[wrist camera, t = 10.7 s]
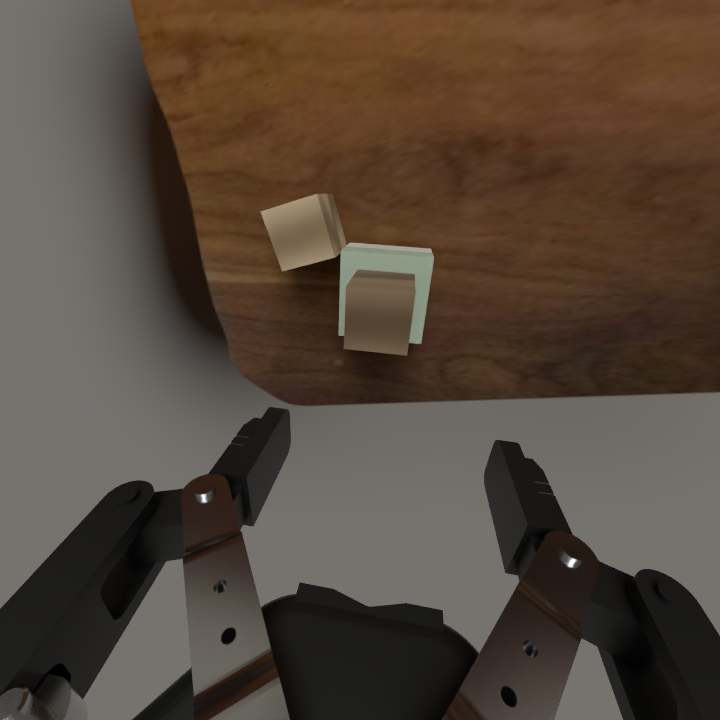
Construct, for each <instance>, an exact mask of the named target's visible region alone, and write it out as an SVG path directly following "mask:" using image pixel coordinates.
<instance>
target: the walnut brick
mask: <svg viewBox="0 0 720 720" xmlns="http://www.w3.org/2000/svg"><path fill="white" fill-rule="evenodd" d="M415 293H416V290H415V274H408V273H396V272H384V271H372V270H360V269H358V270H357V271H356V273H355V274H354V275H353V277H352V278H351V280H350V281H349V283H348V284H347V286H346V299H345V329H344V349H350V350H359V351H368V352H378V353H387V354H396V355H405V356H407V354H408V346H409V339H410V331H411V324H412V316H413V308H414V301H415Z"/></svg>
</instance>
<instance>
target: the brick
mask: <svg viewBox="0 0 720 720" xmlns="http://www.w3.org/2000/svg"><path fill="white" fill-rule="evenodd" d="M261 214H262V217H263V219H264V222H265V225H266V228H267V230H268V233H269V236H270V239H271V242H272V244H273V247H274V250H275V253H276V255H277V258H278V261H279V264H280V266H281V269H282V271H286V270H290V269H294V268H297V267H301V266H305V265H309V264H312V263H316V262H320V261H324V260H328V259H331V258H335V257H336V256H338V255H339V254H340V253H341V250H342V249H343V248H344V247H345V246H347V244H346V241H345V237H344V233H343V230H342V226H341V222H340V219H339V215H338V211H337V208H336V204H335V200H334V197H333V194H315V195H312V196H308V197H305V198H302V199H299V200H296V201H293V202H290V203H286V204H283V205H280V206H277V207H274V208H271V209H268V210H265V211H261Z"/></svg>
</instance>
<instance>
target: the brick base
mask: <svg viewBox="0 0 720 720" xmlns="http://www.w3.org/2000/svg"><path fill="white" fill-rule="evenodd" d="M433 262H434V256H433V253H432V250H431V249H427V248H414V247H401V246H388V245H374V244H361V243H349V244H348V245H347V246H345V247H344V248H343V249H342V250H341V260H340V300H339V336H344V329H345V299H346V286H347V284H348V283H349V281H350V280H351V278H352V277H353V275H354V274H355V273H356V271H357V270H358V269H360V270H372V271H384V272H396V273H408V274H415V290H416V293H415V301H414V308H413V316H412V324H411V331H410V339H409V343H416V344H421V341H422V334H423V327H424V321H425V314H426V308H427V301H428V295H429V288H430V281H431V275H432V268H433Z"/></svg>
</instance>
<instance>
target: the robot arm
mask: <svg viewBox="0 0 720 720" xmlns="http://www.w3.org/2000/svg"><path fill="white" fill-rule="evenodd" d="M290 443H291V434H290V415H289V410H287V409H281V408H274V407H269V408H268V409H267V411H266V412H265V414H264V415H263V417H262V418H261V419H260V418H253V419H252V420H250V421H249V422H248V423H246V424H245V425H243V427H242V428H241V430H240V431H239V432H238V434H237V436H236V437H235V438H234V439H233V440H232V442H231V444H230V445H229V446H228V447H227V449H226V450H225V452H224V453H223V454H222V456H221V457H220V458H219V460H218V461H217V463H216V464H215V465H214V467H213V468H212V470H211V471H210V472H209V474H206V475H202V476H199V477H197V478H195V479H193V480H192V481H190V482H189V483H188V484H187V485H186V486H185V487H184V488H183V489H178V490H169V491H160V492H154V489H153V486H152V485H151V484H150V483H148V482H146V481H131V482H128V483H125V484H122V485H120V486H118V487H116V488H115V489H113V490H112V491H110V492H109V493H108V494H107V495H106V496H105V497H104V498H103V499H102V500H101V501H100V502H99V503H98V504H97V505H96V506H95V508H94V509H93V510H92V511H91V512H90V513H89V514H88V515H87V516H86V517H85V518H84V520H82V521H81V523H80V524H79V525H78V526H77V527H76V528H75V529H74V530H73V531H72V532H71V533H70V534H69V536H68V537H67V538H66V539H65V540H64V541H63V542H62V543H61V544H60V545H59V546H58V547H57V548H56V550H55V551H54V552H53V553H52V554H51V555H50V556H49V557H48V558H47V559H46V560H45V561H44V562H43V563H42V565H41V566H40V567H39V568H38V569H37V570H36V571H35V572H34V573H33V574H32V575H31V576H30V577H29V579H28V580H27V581H26V582H25V583H24V584H23V585H22V586H21V587H20V588H19V589H18V590H17V592H16V593H15V594H14V595H13V596H12V597H11V598H10V599H9V600H8V601H7V602H6V603H5V604H4V606H3V607H2V608H1V609H0V720H87V707H86V704H85V702H84V701H83V698H84V697H85V695H86V693H87V692H88V690H89V688H90V687H91V685H92V683H93V682H94V680H95V678H96V677H97V675H98V673H99V672H100V670H101V668H102V667H103V665H104V663H105V662H106V660H107V658H108V657H109V655H110V653H111V652H112V650H113V649H114V647H115V645H116V643H117V642H118V640H119V639H120V637H121V635H122V633H123V632H124V630H125V629H126V627H127V625H128V624H129V622H130V620H131V619H132V617H133V615H134V614H135V612H136V610H137V609H138V607H139V605H140V604H141V602H142V600H143V599H144V597H145V595H146V594H147V592H148V590H149V589H150V587H151V586H152V584H153V582H154V581H155V579H156V577H157V576H158V574H159V572H160V571H161V569H162V567H163V565H164V564H165V562H166V561H170V560H177V559H183V570H184V581H185V592H186V606H187V617H188V630H189V642H190V655H191V668H190V669H189V670H188V671H187V672H186V673H185V674H183V675H182V676H181V677H180V678H179V679H178V680H177V681H176V682H174V683H173V684H172V685H171V686H170V687H169V688H167V689H166V690H165V691H164V692H163V693H162V694H161V695H160V696H158V697H157V698H156V699H155V700H154V701H153V702H152V703H151V704H149V705H148V706H147V707H146V708H145V709H144V710H143V711H141V712H140V713H139V714H138V715H137V716H136V717H135V718H134V719H132V720H554V718H555V715H556V712H557V709H558V706H559V703H560V700H561V697H562V694H563V691H564V688H565V685H566V682H567V679H568V676H569V673H570V670H571V668H572V664H573V661H574V659H575V656H576V653H577V650H578V647H579V644H580V641H581V638H582V639H584V640H586V641H588V642H590V643H592V644H594V645H596V646H597V647H598V649H599V652H600V655H601V657H602V661H603V664H604V666H605V669H606V672H607V675H608V678H609V680H610V683H611V686H612V689H613V692H614V695H615V697H616V700H617V703H618V706H619V709H620V712H621V715H622V717H623V720H720V636H719V634H718V632H717V631H716V629H715V628H714V626H713V625H712V623H711V622H710V620H709V618H708V617H707V615H706V614H705V612H704V611H703V609H702V607H701V606H700V604H699V603H698V601H697V600H696V599H695V597H694V596H693V595H692V594H691V593H690V592H689V591H688V590H687V589H686V588H685V587H684V586H682V585H681V584H680V583H679V582H677V581H676V580H674V579H673V578H671V577H669V576H667V575H666V574H664V573H661V572H659V571H655V570H651V569H643V570H640V571H639V572H638V573H637V574H636V575H635V577H633V576H630V575H629V574H626V573H624V572H622V571H619V570H617V569H615V568H613V567H610V566H608V565H606V564H604V563H602V562H600V561H598V559H597V557H596V555H595V554H594V553H593V551H592V550H591V549H590V548H589V547H588V546H587V545H586V544H585V543H584V542H583V541H582V540H580V539H579V538H577V537H575V536H574V535H573V534H572V532H571V530H570V528H569V526H568V523H567V521H566V519H565V517H564V515H563V513H562V510H561V508H560V506H559V504H558V502H557V500H556V497H555V496H554V495H553V491H552V489H551V487H550V485H549V482H548V480H547V478H546V476H545V473H544V471H543V470H542V469H541V468H540V467H539V466H538V465H537V463H536V462H535V461H534V460H533V459H528V458H525V457H524V455H523V452H522V450H521V447H520V445H519V444H518V443H515V442H508V441H501V440H496V441H495V442H494V444H493V448H492V450H491V453H490V456H489V459H488V463H487V466H486V469H485V474H484V485H485V489H486V493H487V498H488V502H489V506H490V510H491V514H492V519H493V523H494V527H495V531H496V536H497V540H498V543H499V548H500V552H501V556H502V561H503V565H504V569H505V573H508V574H514V575H518V577H519V581H520V582H519V584H518V585H517V587H516V589H515V590H514V592H513V594H512V596H511V598H510V600H509V601H508V603H507V605H506V607H505V608H504V610H503V612H502V614H501V616H500V617H499V619H498V621H497V623H496V624H495V626H494V628H493V630H492V632H491V634H490V635H489V637H488V639H487V641H486V642H485V644H484V646H483V648H482V649H481V651H480V653H478V652H477V650H476V649H475V648H474V647H473V646H472V645H471V644H470V643H469V642H468V641H467V640H466V639H465V638H464V637H463V636H462V635H460V634H459V633H458V632H457V631H455V630H454V629H452V628H451V627H449V626H447V625H445V624H444V623H443V611H442V610H438V609H432V608H428V607H423V606H418V605H413V604H407V603H405V604H394V605H386V606H385V605H384V606H374V607H368V606H365V605H363V604H362V603H360V602H358V601H355V600H354V599H352V598H350V597H348V596H346V595H344V594H342V593H340V592H338V591H336V590H334V589H330V588H325V587H320V586H315V585H310V584H305V583H299V587H298V590H297V594H293V595H288V596H283V597H280V598H278V599H275V600H273V601H271V602H269V603H267V604H265V605H264V606H262V607H260V603H259V599H258V595H257V591H256V587H255V583H254V579H253V575H252V571H251V567H250V563H249V559H248V555H247V551H246V547H245V543H244V539H243V535H242V532H241V531H240V529H241V527H242V526H243V525H248V526H254V524H255V522H256V520H257V518H258V516H259V513H260V511H261V509H262V507H263V505H264V503H265V501H266V499H267V497H268V495H269V493H270V490H271V488H272V486H273V484H274V482H275V480H276V478H277V476H278V474H279V471H280V470H281V467H282V465H283V463H284V461H285V459H286V457H287V455H288V452H289V449H290Z"/></svg>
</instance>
